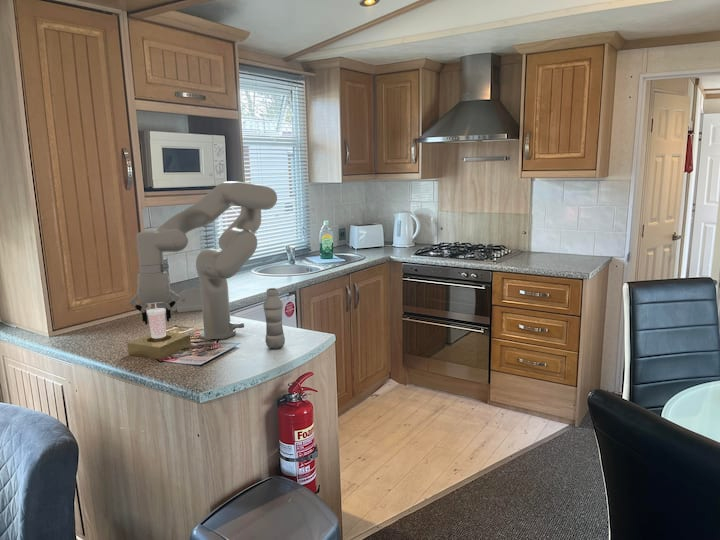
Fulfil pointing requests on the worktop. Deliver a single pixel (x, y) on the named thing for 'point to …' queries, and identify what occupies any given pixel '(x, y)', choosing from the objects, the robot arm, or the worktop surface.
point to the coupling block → (159, 345)
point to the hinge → (189, 300)
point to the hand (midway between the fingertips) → (157, 321)
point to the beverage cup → (157, 322)
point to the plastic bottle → (273, 319)
